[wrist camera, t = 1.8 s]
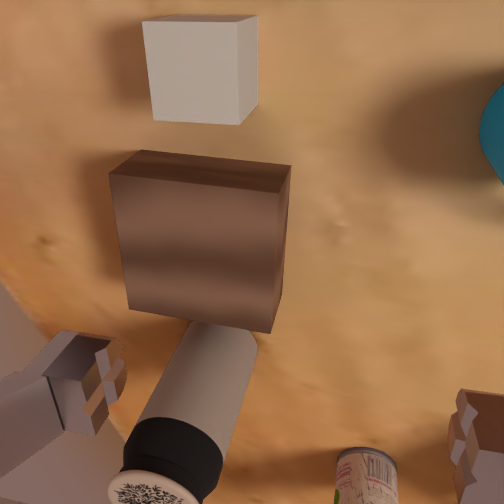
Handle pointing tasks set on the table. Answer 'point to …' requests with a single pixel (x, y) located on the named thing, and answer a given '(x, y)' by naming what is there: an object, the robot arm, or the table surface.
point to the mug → (494, 132)
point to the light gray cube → (202, 67)
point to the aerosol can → (365, 477)
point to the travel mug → (187, 419)
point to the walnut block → (202, 236)
